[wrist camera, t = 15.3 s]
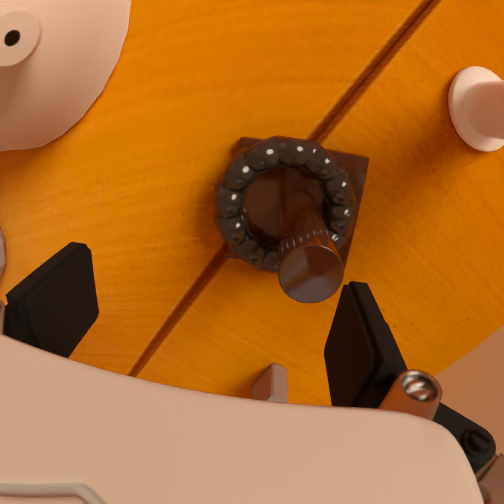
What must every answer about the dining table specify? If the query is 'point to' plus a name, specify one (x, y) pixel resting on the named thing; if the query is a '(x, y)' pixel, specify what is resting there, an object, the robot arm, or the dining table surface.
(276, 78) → the dining table surface
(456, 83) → the candle
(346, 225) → the studded rubber donut
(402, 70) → the dining table surface
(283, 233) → the square plate with peg
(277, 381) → the lighter
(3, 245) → the jar
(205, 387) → the dining table surface
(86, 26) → the kettle
